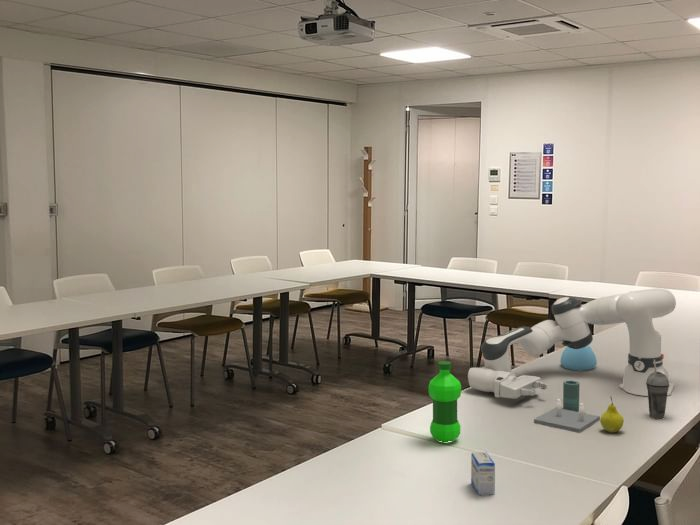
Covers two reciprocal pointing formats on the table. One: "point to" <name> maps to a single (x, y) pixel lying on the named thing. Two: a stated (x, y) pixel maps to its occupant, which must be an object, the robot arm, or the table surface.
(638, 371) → the robot arm
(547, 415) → the pin board
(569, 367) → the sugar bowl
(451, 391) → the plastic bottle
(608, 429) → the fruit
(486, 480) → the medicine box
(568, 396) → the sleeve
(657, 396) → the beverage cup
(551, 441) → the table surface
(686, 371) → the table surface
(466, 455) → the table surface
